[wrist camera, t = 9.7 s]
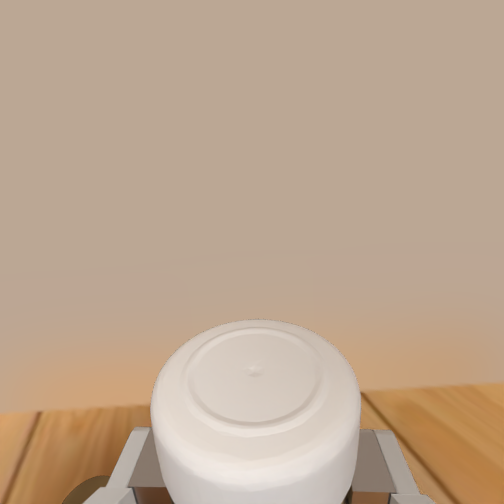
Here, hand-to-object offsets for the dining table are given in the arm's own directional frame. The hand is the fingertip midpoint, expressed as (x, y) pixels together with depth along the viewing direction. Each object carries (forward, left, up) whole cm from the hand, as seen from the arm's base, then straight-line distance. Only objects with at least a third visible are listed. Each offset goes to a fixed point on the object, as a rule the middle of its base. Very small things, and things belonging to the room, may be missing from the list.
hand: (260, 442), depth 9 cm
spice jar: (0, +1, -10) cm, 10 cm away
